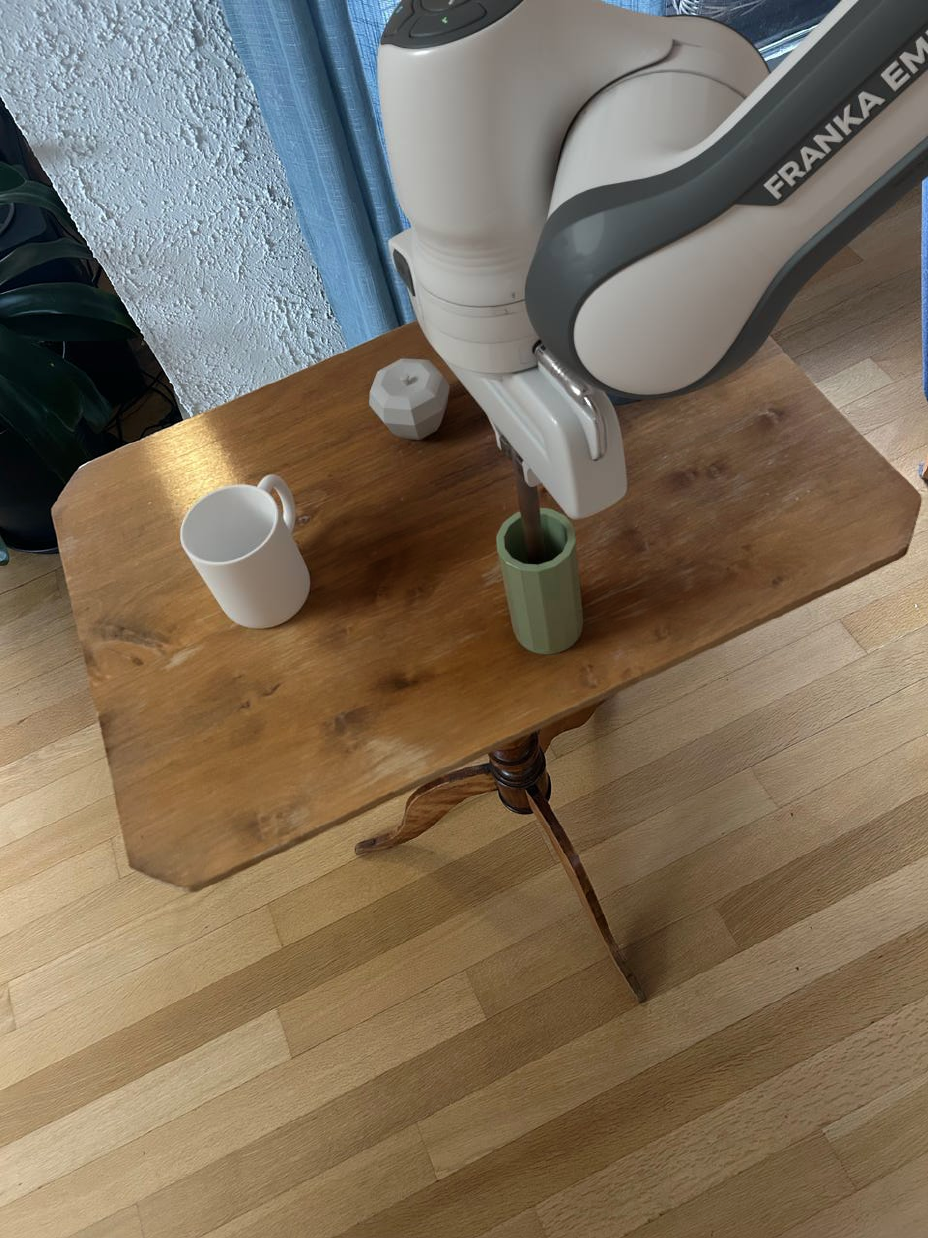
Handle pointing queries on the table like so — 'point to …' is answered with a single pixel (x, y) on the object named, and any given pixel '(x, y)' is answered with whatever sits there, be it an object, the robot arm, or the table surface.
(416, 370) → the grey apple
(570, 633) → the crock
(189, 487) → the table surface
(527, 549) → the dark wooden dowel
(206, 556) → the cup
